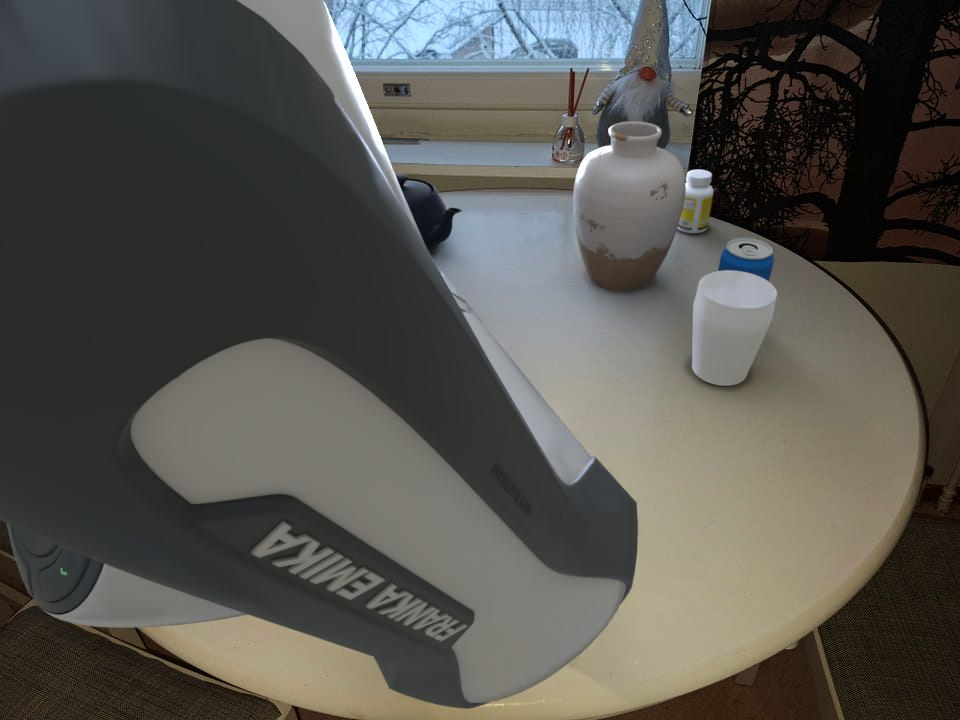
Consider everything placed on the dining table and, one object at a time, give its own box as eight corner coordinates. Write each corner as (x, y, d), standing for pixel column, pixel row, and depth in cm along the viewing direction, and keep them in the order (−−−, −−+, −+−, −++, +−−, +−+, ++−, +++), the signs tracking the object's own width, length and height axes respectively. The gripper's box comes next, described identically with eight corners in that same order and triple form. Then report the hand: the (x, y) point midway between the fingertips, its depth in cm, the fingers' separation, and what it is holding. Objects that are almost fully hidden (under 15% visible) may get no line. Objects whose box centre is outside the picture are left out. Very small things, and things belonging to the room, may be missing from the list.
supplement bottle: (704, 221, 121) (714, 167, 115) (709, 234, 116) (719, 180, 110) (673, 220, 121) (681, 167, 115) (676, 234, 117) (685, 179, 111)
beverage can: (752, 314, 96) (771, 237, 89) (759, 340, 91) (780, 261, 84) (705, 311, 97) (720, 235, 90) (709, 337, 92) (726, 258, 85)
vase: (550, 284, 104) (556, 136, 91) (595, 243, 115) (606, 105, 101) (648, 313, 97) (669, 156, 84) (686, 266, 108) (711, 121, 94)
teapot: (327, 242, 119) (315, 174, 111) (392, 212, 128) (384, 148, 121) (430, 286, 105) (424, 212, 98) (494, 249, 114) (493, 179, 107)
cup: (678, 348, 90) (692, 268, 83) (749, 351, 89) (770, 271, 82) (686, 390, 83) (702, 307, 76) (762, 395, 82) (786, 311, 75)
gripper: (530, 541, 31) (606, 535, 43) (236, 390, 41) (367, 420, 53) (478, 671, 31) (570, 627, 43) (195, 488, 40) (336, 495, 53)
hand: (456, 512), depth 48 cm, fingers open, 8 cm apart
